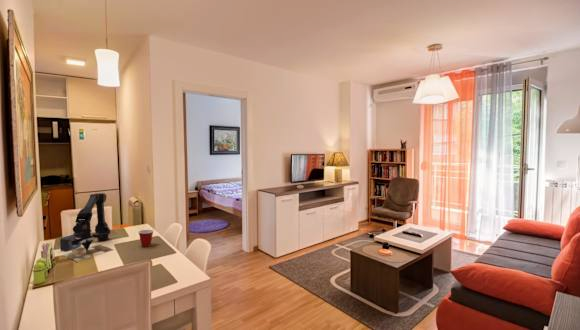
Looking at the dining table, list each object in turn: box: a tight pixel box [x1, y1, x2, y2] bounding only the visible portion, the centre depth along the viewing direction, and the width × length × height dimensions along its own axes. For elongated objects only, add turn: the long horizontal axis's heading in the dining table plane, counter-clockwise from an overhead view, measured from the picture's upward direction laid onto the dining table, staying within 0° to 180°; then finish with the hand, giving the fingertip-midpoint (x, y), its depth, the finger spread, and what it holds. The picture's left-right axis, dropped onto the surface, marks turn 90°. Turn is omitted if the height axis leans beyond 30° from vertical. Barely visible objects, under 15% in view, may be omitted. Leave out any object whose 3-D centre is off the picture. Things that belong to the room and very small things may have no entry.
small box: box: [59, 233, 82, 252], centre depth 203 cm, size 11×6×10 cm, turn 168°
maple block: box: [71, 246, 86, 257], centre depth 191 cm, size 6×6×4 cm
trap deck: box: [63, 244, 115, 264], centre depth 196 cm, size 23×20×3 cm
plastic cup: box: [138, 229, 155, 248], centre depth 213 cm, size 11×11×12 cm
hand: (86, 250), depth 195 cm, fingers closed
